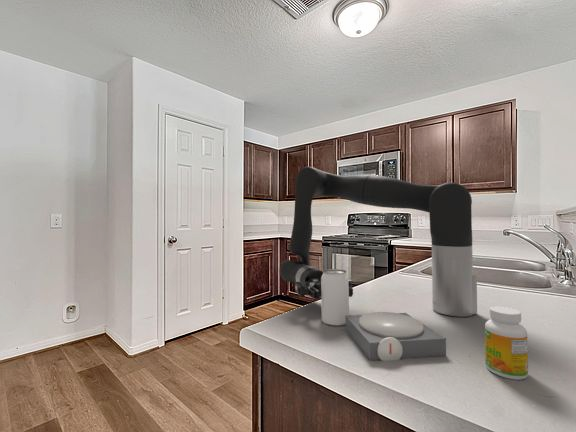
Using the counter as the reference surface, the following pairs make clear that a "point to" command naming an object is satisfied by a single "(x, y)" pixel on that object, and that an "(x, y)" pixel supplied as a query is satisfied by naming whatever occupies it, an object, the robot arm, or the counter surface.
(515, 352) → the supplement bottle
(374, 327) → the scale
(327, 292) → the can
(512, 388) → the counter surface
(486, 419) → the counter surface
